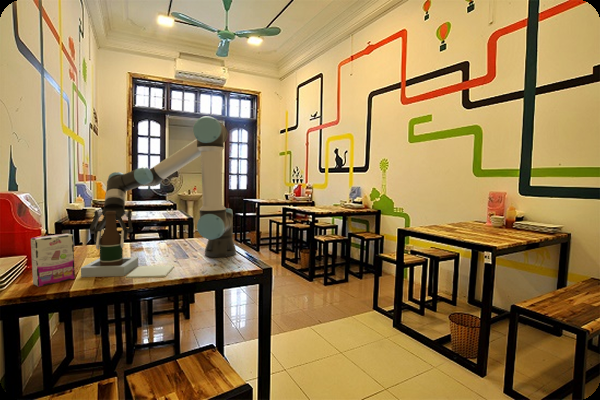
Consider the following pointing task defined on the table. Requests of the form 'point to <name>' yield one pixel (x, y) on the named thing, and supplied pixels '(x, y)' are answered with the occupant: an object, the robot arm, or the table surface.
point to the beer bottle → (111, 243)
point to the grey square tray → (109, 268)
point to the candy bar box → (52, 259)
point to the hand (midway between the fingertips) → (109, 246)
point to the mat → (150, 271)
